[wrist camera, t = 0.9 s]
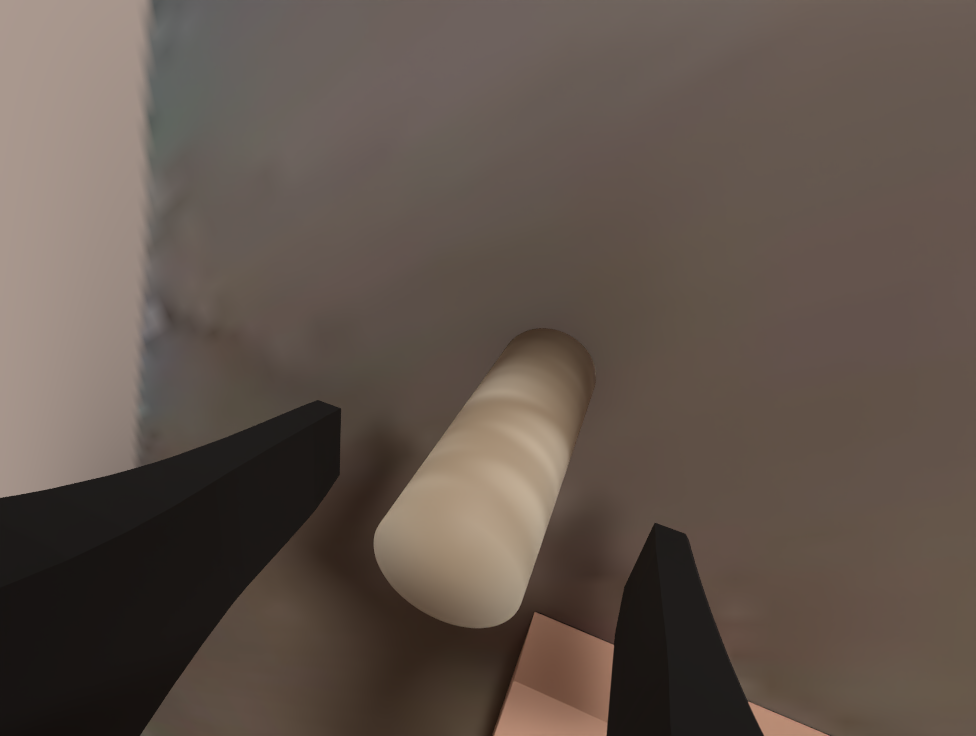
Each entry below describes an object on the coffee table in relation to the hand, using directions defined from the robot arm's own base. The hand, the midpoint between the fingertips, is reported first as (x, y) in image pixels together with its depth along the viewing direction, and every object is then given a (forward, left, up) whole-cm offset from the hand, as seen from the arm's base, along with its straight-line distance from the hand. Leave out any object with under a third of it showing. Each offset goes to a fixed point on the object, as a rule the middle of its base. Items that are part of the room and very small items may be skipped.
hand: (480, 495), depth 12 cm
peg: (0, 0, -6) cm, 6 cm away
